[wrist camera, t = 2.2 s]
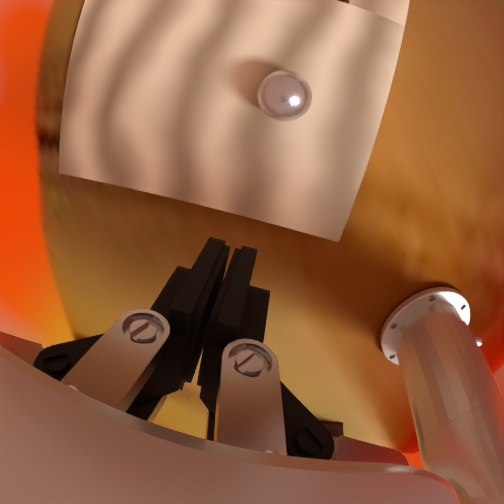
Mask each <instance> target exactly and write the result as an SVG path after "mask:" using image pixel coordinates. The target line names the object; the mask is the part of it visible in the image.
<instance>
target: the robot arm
mask: <svg viewBox="0 0 504 504" xmlns="http://www.w3.org/2000/svg"><path fill="white" fill-rule="evenodd" d="M229 250H230V246H226V245H225V241H223V240H219V239H215V238H212V237H210V238H209V239H208V241H207V243H206V245H205V246H204V248H203V250H202V251H201V253H200V255H199V257H198V258H197V260H196V262H195V263H194V265H193V267H192V269H188V268H184V267H181V266H178V267H177V268H176V269H175V271H174V273H173V274H172V276H171V277H170V279H169V280H168V282H167V283H166V285H165V287H164V288H163V290H162V291H161V293H160V294H159V296H158V298H157V299H156V301H155V302H154V304H153V306H152V307H151V309H150V310H149V309H135V310H131V311H129V312H126V313H125V314H124V315H122V316H121V317H120V318H119V319H118V320H117V321H116V322H115V323H114V324H113V325H112V326H111V327H110V328H109V329H108V330H107V331H106V332H105V333H104V334H100V335H96V336H92V337H87V338H83V339H79V340H74V341H70V342H66V343H61V344H56V345H52V346H50V347H47V348H43V347H42V345H41V344H39V343H35V342H32V341H29V340H25V339H22V338H19V337H16V336H13V335H10V334H7V333H4V332H1V331H0V504H504V398H503V396H502V394H501V391H500V389H499V387H498V385H497V382H496V380H495V378H494V376H493V374H492V372H491V370H490V367H489V365H488V363H487V361H486V359H485V357H484V355H483V354H482V352H481V350H480V348H479V346H480V345H481V342H482V340H481V338H480V337H476V336H473V334H472V333H471V331H470V329H469V327H468V323H469V319H470V308H469V304H468V302H467V301H466V299H465V297H464V296H463V295H462V294H461V293H460V292H459V291H457V290H456V289H453V288H449V287H434V288H430V289H426V290H423V291H421V292H419V293H416V294H414V295H413V296H411V297H409V298H408V299H406V300H405V301H404V302H402V303H401V304H400V305H399V306H398V307H397V308H396V309H395V310H394V311H393V312H392V313H391V314H390V316H389V317H388V319H387V320H386V322H385V324H384V326H383V328H382V331H381V335H380V344H381V348H382V351H383V353H384V355H385V357H386V358H387V359H388V360H389V361H391V362H392V363H394V364H397V365H400V369H401V373H402V376H403V380H404V384H405V387H406V391H407V395H408V399H409V403H410V407H411V412H412V416H413V420H414V425H415V429H416V434H417V439H418V444H419V449H420V455H421V460H422V463H423V466H424V469H425V470H423V469H419V468H416V467H412V466H409V464H408V461H407V459H406V457H405V456H404V455H403V454H402V453H401V452H399V451H397V450H395V449H391V448H386V447H382V446H378V445H374V444H370V443H367V442H363V441H359V440H356V439H352V438H349V437H345V436H342V435H341V436H340V437H339V438H338V437H334V436H332V435H331V433H330V432H329V431H328V429H327V428H326V427H325V426H324V425H323V424H322V423H321V422H320V421H319V420H318V419H317V418H316V417H315V416H314V415H313V414H312V413H311V412H310V411H309V410H308V409H307V408H306V407H305V406H304V405H303V404H302V403H301V402H300V401H299V400H298V399H297V398H296V397H295V396H294V395H293V394H292V393H291V392H290V390H289V389H288V388H287V387H286V386H285V385H284V384H283V383H282V382H281V381H280V376H279V366H278V360H277V357H276V355H275V354H274V352H273V351H272V350H271V349H270V348H269V347H268V346H267V345H265V344H263V340H264V333H265V326H266V319H267V311H268V304H269V296H270V291H268V290H265V289H261V288H257V287H253V286H249V284H250V280H251V276H252V271H253V267H254V263H255V259H256V255H257V249H253V248H249V247H245V246H242V249H237V248H235V251H234V254H233V256H232V259H231V261H230V264H229V267H228V269H227V272H226V275H225V277H224V273H225V268H226V264H227V259H228V255H229ZM223 277H224V280H223ZM222 282H223V283H222ZM202 350H203V353H202ZM201 353H202V358H201V364H200V370H199V375H198V381H197V385H199V386H202V387H201V392H200V399H201V400H202V401H203V403H204V404H205V406H206V407H207V408H208V413H207V423H206V435H205V439H202V438H198V437H195V436H191V435H188V434H184V433H181V432H178V431H175V430H172V429H168V428H165V427H162V426H160V425H157V424H154V423H152V422H153V420H154V418H155V417H156V415H157V413H158V412H159V410H160V409H161V407H162V405H163V404H164V402H165V400H166V397H167V394H170V393H173V392H175V391H178V389H180V390H182V389H183V386H184V383H185V382H189V383H191V381H192V379H193V376H194V373H195V370H196V367H197V364H198V361H199V359H200V356H201Z"/></svg>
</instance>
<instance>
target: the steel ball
mask: <svg viewBox="0 0 504 504" xmlns="http://www.w3.org/2000/svg"><path fill="white" fill-rule="evenodd" d="M257 99H258V103H259V105H260V107H261V109H262V110H263V112H264V113H265V114H267V115H268V116H269V117H271V118H273V119H275V120H278V121H293V120H296V119H298V118H300V117H302V116H303V115H304V114H305V113H306V112H307V111H308V109H309V108H310V106H311V103H312V90H311V87H310V85H309V83H308V82H307V80H306V79H305V78H304V77H302V76H301V75H300V74H298V73H296V72H293V71H289V70H278V71H275V72H272V73H270V74H268V75H267V76H266V77H265V78H264V79H263V80H262V81H261V83H260V85H259V87H258V91H257Z"/></svg>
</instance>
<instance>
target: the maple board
mask: <svg viewBox="0 0 504 504" xmlns="http://www.w3.org/2000/svg"><path fill="white" fill-rule="evenodd" d="M409 1H410V0H348V2H347V3H344V2H341V1H338V0H85V2H84V5H83V9H82V12H81V15H80V19H79V22H78V26H77V30H76V34H75V38H74V42H73V47H72V51H71V56H70V61H69V66H68V72H67V78H66V84H65V91H64V99H63V107H62V117H61V129H60V145H59V173H60V174H65V175H70V176H75V177H80V178H84V179H89V180H94V181H99V182H103V183H108V184H112V185H117V186H121V187H126V188H130V189H135V190H139V191H143V192H148V193H152V194H156V195H160V196H165V197H169V198H173V199H177V200H181V201H185V202H189V203H193V204H197V205H201V206H205V207H209V208H213V209H217V210H221V211H225V212H229V213H233V214H237V215H241V216H244V217H248V218H252V219H256V220H260V221H263V222H267V223H271V224H274V225H278V226H282V227H285V228H289V229H293V230H296V231H300V232H303V233H307V234H310V235H314V236H317V237H321V238H324V239H328V240H331V241H335V242H338V243H339V240H340V238H341V235H342V233H343V230H344V227H345V225H346V222H347V220H348V217H349V214H350V212H351V209H352V206H353V203H354V201H355V198H356V195H357V192H358V190H359V187H360V184H361V181H362V178H363V175H364V172H365V169H366V166H367V163H368V160H369V157H370V154H371V151H372V148H373V145H374V142H375V139H376V136H377V132H378V129H379V126H380V122H381V119H382V116H383V112H384V109H385V105H386V102H387V98H388V94H389V91H390V87H391V83H392V79H393V75H394V72H395V68H396V63H397V59H398V55H399V51H400V46H401V42H402V37H403V33H404V28H405V23H406V18H407V12H408V7H409ZM278 70H289V71H293V72H296V73H298V74H300V75H301V76H302V77H304V78H305V79H306V80H307V82H308V83H309V85H310V87H311V90H312V103H311V106H310V108H309V109H308V111H307V112H306V113H305V114H304V115H303V116H302V117H300V118H298V119H296V120H293V121H278V120H275V119H273V118H271V117H269V116H268V115H267V114H265V113H264V112H263V110H262V109H261V107H260V105H259V103H258V99H257V91H258V87H259V85H260V83H261V81H262V80H263V79H264V78H265V77H266V76H267V75H268V74H270V73H272V72H275V71H278Z"/></svg>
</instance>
